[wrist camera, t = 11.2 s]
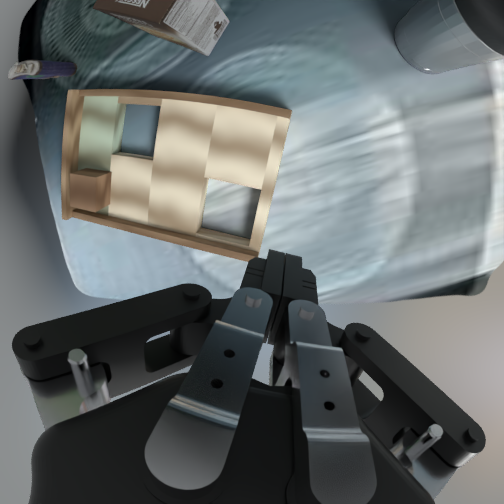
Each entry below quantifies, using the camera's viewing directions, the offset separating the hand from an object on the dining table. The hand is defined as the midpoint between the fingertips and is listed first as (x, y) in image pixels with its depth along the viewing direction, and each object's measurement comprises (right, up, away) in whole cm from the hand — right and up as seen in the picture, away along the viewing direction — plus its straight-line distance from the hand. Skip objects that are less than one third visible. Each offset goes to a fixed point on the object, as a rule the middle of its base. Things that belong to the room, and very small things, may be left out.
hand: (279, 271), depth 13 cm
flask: (-34, +32, +21) cm, 51 cm away
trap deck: (-13, +13, +26) cm, 32 cm away
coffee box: (-9, +31, +17) cm, 37 cm away
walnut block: (-24, +11, +26) cm, 37 cm away
